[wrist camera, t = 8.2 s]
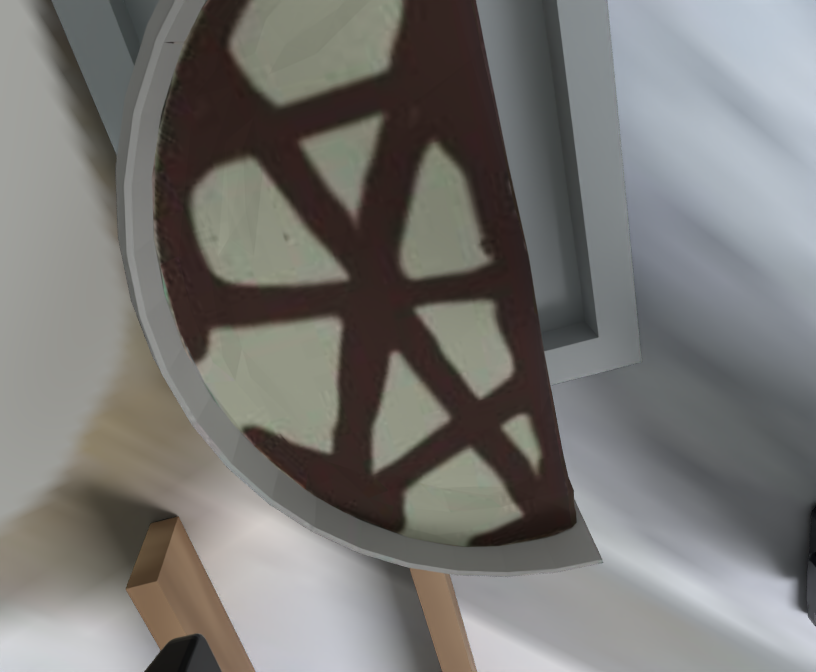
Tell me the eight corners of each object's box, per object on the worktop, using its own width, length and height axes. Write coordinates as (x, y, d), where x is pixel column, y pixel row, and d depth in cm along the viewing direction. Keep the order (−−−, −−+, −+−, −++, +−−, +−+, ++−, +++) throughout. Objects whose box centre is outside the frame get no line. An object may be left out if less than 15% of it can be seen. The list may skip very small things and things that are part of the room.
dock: (416, 455, 23) (426, 513, 20) (491, 720, 29) (506, 791, 26) (150, 523, 23) (125, 588, 20) (281, 773, 29) (274, 848, 27)
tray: (541, -367, 14) (567, -417, 13) (619, 337, 22) (641, 362, 20) (-10, -218, 15) (-53, -248, 13) (253, 431, 22) (246, 463, 20)
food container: (131, -40, 16) (-149, -134, 7) (383, -115, 16) (448, -314, 7) (300, 396, 21) (272, 675, 12) (490, 343, 21) (607, 584, 12)
